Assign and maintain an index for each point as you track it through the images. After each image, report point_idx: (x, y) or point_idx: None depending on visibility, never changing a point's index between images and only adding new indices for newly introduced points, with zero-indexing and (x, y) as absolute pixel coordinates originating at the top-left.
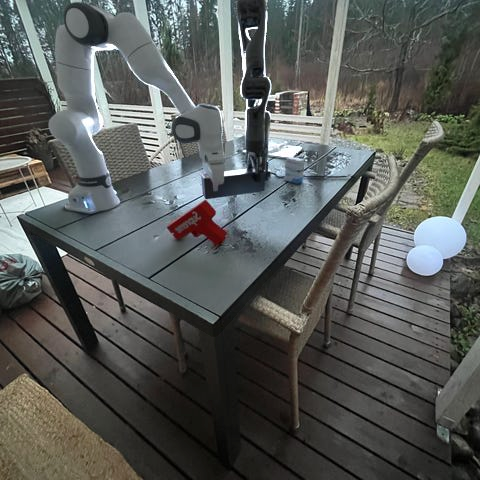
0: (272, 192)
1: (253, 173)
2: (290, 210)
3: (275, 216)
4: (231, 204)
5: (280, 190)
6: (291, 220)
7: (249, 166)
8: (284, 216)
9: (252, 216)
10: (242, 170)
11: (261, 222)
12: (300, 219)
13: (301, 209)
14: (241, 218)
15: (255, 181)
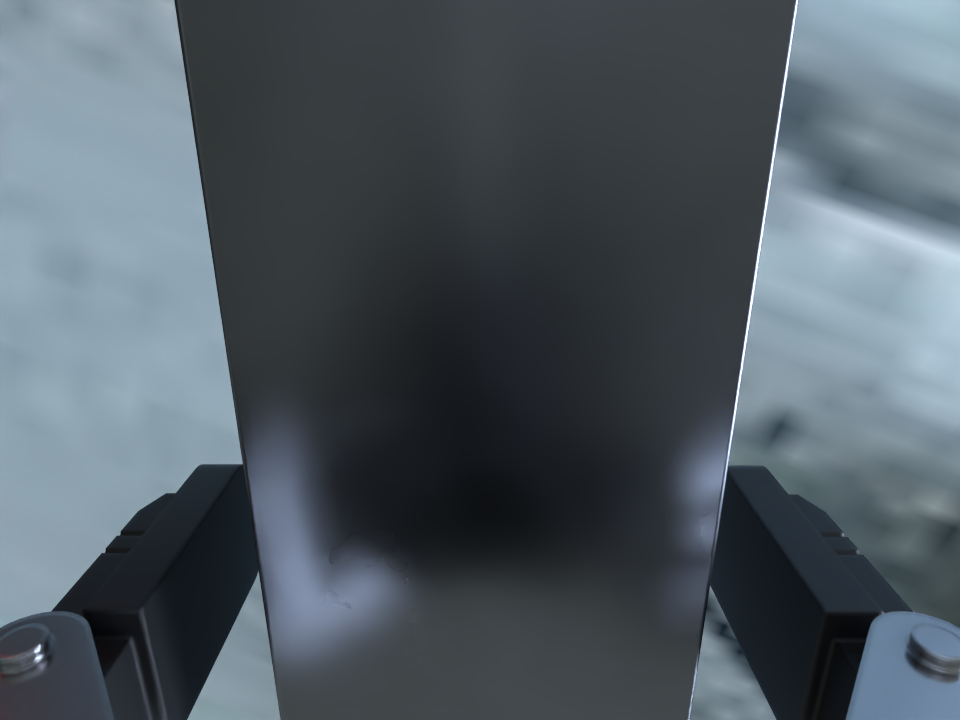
0: (727, 627)
1: (270, 569)
2: (251, 611)
3: (148, 435)
4: None
5: (734, 710)
6: (40, 536)
7: (835, 666)
8: (133, 513)
9: (195, 196)
10: (621, 320)
11: (29, 242)
12: (50, 611)
13: (248, 697)
14: (166, 35)
15: (198, 469)
